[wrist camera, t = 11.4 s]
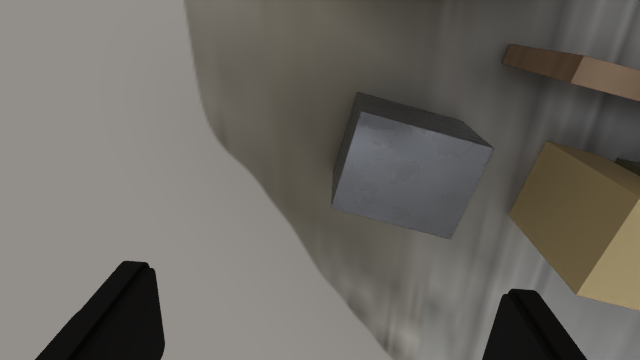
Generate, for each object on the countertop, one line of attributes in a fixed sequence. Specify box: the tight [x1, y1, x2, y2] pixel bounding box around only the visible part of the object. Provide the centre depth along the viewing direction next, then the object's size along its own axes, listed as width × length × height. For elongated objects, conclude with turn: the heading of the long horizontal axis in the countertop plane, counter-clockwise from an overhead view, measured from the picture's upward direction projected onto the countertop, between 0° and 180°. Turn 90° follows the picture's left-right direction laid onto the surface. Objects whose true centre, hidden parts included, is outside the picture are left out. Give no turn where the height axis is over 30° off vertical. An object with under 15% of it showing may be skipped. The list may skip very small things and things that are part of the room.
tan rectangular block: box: [509, 141, 640, 311], centre depth 23 cm, size 4×6×9 cm, turn 166°
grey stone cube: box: [331, 92, 494, 239], centre depth 24 cm, size 8×6×6 cm
